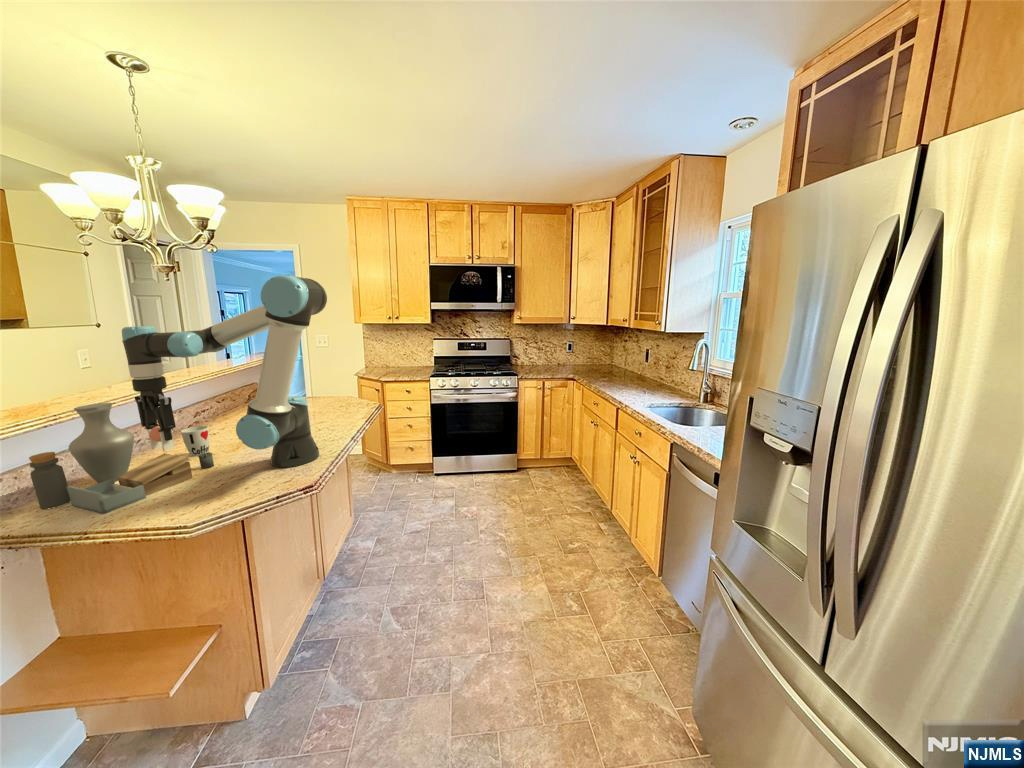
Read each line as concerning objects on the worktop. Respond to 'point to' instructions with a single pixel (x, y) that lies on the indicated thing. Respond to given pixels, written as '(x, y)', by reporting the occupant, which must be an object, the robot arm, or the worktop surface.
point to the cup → (196, 440)
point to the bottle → (49, 480)
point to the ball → (155, 434)
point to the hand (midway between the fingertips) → (163, 448)
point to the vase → (102, 444)
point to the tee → (206, 460)
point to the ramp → (158, 473)
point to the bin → (104, 496)
